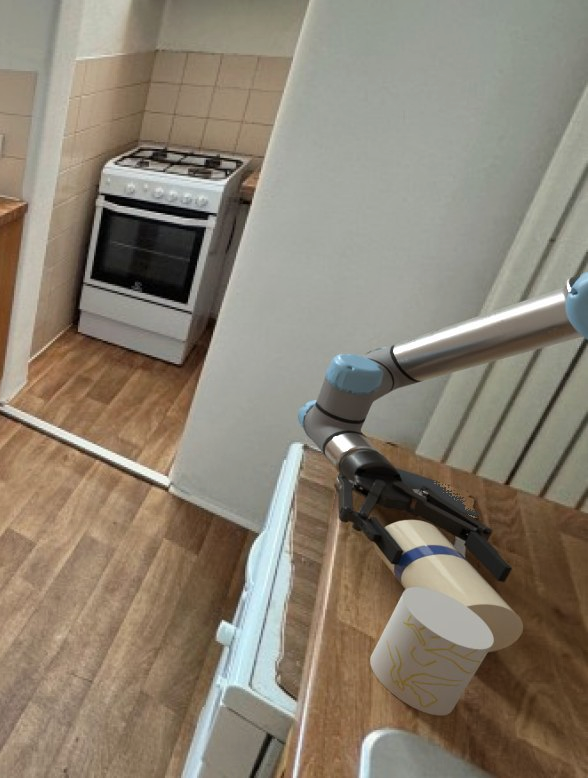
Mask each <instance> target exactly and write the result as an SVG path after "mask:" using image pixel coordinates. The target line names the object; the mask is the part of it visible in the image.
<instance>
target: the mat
mask: <svg viewBox="0 0 588 778" xmlns="http://www.w3.org/2000/svg"><path fill="white" fill-rule="evenodd" d="M395 468H396V469H397V470H398V472H399V474H400V477H401V479H402V481H403V483H405V484H406V485H407V486H409V487H411V488H412V489H419V490H420V488H421V486H426V487H429V488H430V489H431V490H432V491H433V492H434V493H436V494H437V495H438V496H439V497H441V498H442V499H444V500H446V501H447V502H449V503H450V504H452V505H454V506H455V507H457V508H458V509H460V510H462V511H463V512H465V513H466V514H469V515H472V516H475V517H478V518H479V515H478V512H477V510H476V511H474V510H472V511H471V509H470V510H468V509H469V508H468V509H466V510H465V506H466V505H464V504H462V503H463V502H465V501H466V500H465V501H463V500H461V501H460V499H463V498H464V497H462V498H461V496H460V497H458V496H456V497H455V496H452V493H449V492H452V490H451V491H449V490H447V491H446V487H444V488H443V487H440V484H438V485H437V483H440V482H441V481H439V482H437V481H438V480H435V479H432V478H430V477H426V476H423V475H419V474H417V473H414V472H411V471H407V470H404V469H401V468H398V467H395ZM434 481H436V482H434ZM434 483H436V484H434ZM446 484H447V483H445V485H446ZM442 485H443V484H442ZM448 488H449V487H448ZM443 489H444V490H443ZM454 491H455V490H454ZM443 492H444V493H443ZM446 492H448V493H446ZM453 494H455V493H453ZM449 495H450V496H449ZM455 495H458V493H457V494H455ZM459 495H460V494H459ZM451 496H452V497H451ZM457 497H458V498H457ZM454 498H455V500H454ZM457 499H459V500H457ZM456 500H457V501H456ZM462 501H463V502H462ZM467 510H468V511H467ZM473 511H474V512H473ZM476 512H477V513H476Z"/></svg>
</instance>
